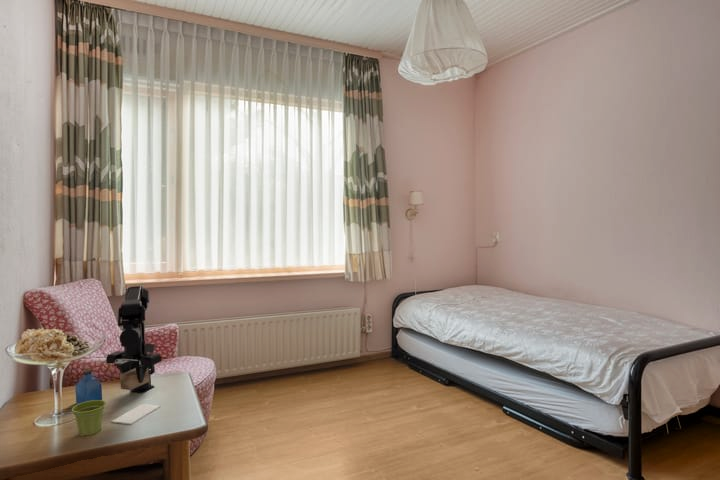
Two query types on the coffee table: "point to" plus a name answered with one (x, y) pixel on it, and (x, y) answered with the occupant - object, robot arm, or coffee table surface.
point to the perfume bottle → (88, 388)
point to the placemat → (136, 414)
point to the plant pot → (89, 416)
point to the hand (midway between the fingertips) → (135, 382)
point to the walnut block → (132, 379)
